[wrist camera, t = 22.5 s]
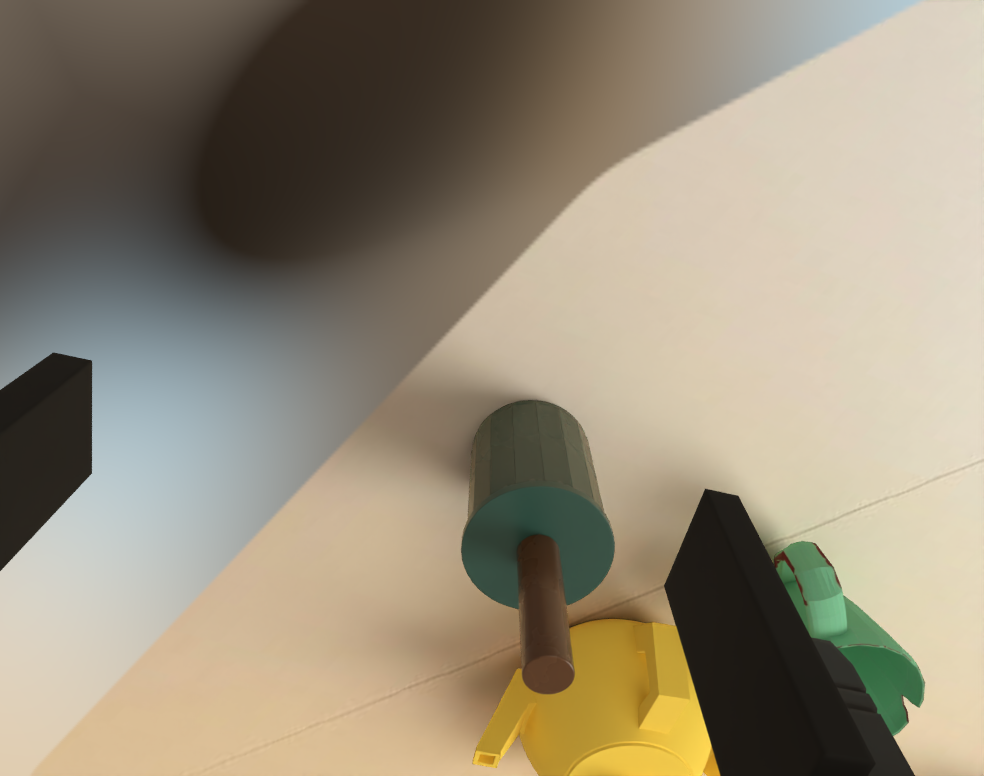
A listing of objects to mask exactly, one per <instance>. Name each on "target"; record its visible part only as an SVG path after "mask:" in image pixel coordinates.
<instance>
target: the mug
mask: <svg viewBox="0 0 984 776" xmlns="http://www.w3.org/2000/svg"><path fill="white" fill-rule="evenodd" d="M774 564H775V568H776V570H777V572H778V574H779V576H780V578H781V580H782V582H783V584H784V586H785V588H786V590H787V592H788V593H789V595H790V597H791V599H792V601H793V603H794V605H795V607H796V609H797V611H798V613H799V615H800V617H801V619H802V621H803V623H804V625H805V627H806V628H807V630H808V632H809V634H810V636H811V637H812V638H817V639H822V640H827V641H831V642H832V643H833V644H834V645H835V646H836V647H837V648H838V650H839V651H840V652H841V653H842V654H843V655H844V656H845V657H846V658H847V659H848V660H849V661H850V662H851V663H852V664H853V666H854V668H855V669H856V671H857V673H858V675H859V676H860V678H861V680H862V682H863V684H864V685H865V687H866V693H868V694H870V696H871V698H872V700H873V702H874V703H875V705H876V707H877V713H878V714H881V716H882V718H883V719H884V721H885V723H886V725H887V727H888V728H889V730H890V732H891V734H892V736H894V735H896V734H898V733H899V732H900V731H901V730H902V729H903V728H904V727H905V726H906V725H907V724H908V723H909V720H908V712H907V709H906V707H905V705H904V701H903V696H904V697H906V698H907V699H908V700H909V701H910V702H911V703H912V704H914V705H916V706H917V707H919V708H920V706H921V704H922V702H923V700H924V688H925V682H924V679H923V677H922V674H921V672H920V669H919V667H918V665H917V664H916V662H915V661H914V660H913V658H912V657H911V656H910V655H909V654H908V653H907V652H906V651H905V650H904V649H903V648H902V647H901V646H900V645H899V644H898V643H897V642H896V641H895V640H894V639H893V638H892V637H891V636H890V635H889V634H888V633H887V632H886V631H884V630H883V629H882V628H881V627H880V626H879V625H878V624H877V623H876V622H874V621H873V620H872V619H871V618H870V617H869V616H868V615H867V614H866V613H865V612H863V611H862V610H861V609H860V608H859V607H858V606H857V605H856V604H854V603H853V602H852V601H850V600H849V599H848V598H846V597H845V596H844V595H843V592H842V588H841V585H840V583H839V580H838V577H837V575H836V572H835V570H834V567H833V566H832V565H831V563H830V562H829V561H828V559H827V558H826V557H825V555H824V554H823V553H822V551H821V550H820V549H819V547H818V546H817V545H816V544H815V543H812V542H804V541H801V542H796V543H793V544H790V545H789V546H788V547H786V548H785V549H783V550H781V551H780V552H778V553H777V554H776V555H775V556H774Z"/></svg>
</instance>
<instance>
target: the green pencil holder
mask: <svg viewBox="0 0 984 776" xmlns="http://www.w3.org/2000/svg"><path fill="white" fill-rule="evenodd" d="M528 481H551V482H557V483H561V484H565V485H568V486H571V487H573V488H575V489H578V490H580V491H581V492H583V493H585V494H586V495H588V496H589V497H590V498H592V499H593V500H594V501H595V502H596V503H597V504H598V505H599V506H600V507H601V508H602V510H603V511H604V509H603V504H602V500H601V496H600V491H599V487H598V483H597V479H596V474H595V470H594V466H593V461H592V457H591V453H590V448H589V444H588V440H587V437H586V436H585V433H584V431H583V429H582V427H581V425H580V424H579V423H578V421H577V420H576V419H575V418H574V417H573V416H572V415H571V414H570V413H568V412H567V411H566V410H564V409H562V408H561V407H559V406H556V405H554V404H551V403H548V402H543V401H535V400H528V401H519V402H514V403H511V404H508V405H506V406H504V407H501V408H500V409H498V410H496V411H495V412H493V413H492V414H491V415H490V416H489V417H488V418H487V419H486V420H485V421H484V422H483V423H482V424H481V426H480V427H479V429H478V431H477V433H476V436H475V438H474V442H473V448H472V451H471V467H470V485H469V503H468V519H469V517H470V515H471V513H472V512H473V511H474V510H475V508H476V507H477V506H478V505H479V504H480V503H481V502H482V501H483V500H484V499H486V498H487V497H489V496H490V495H491V494H493V493H495V492H497V491H498V490H500V489H503V488H505V487H507V486H510V485H514V484H517V483H522V482H528Z"/></svg>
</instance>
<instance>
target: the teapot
mask: <svg viewBox="0 0 984 776" xmlns="http://www.w3.org/2000/svg"><path fill="white" fill-rule="evenodd" d="M569 630H570V638H571V646H572V653H573V661H574V669H575V677H574V680H573V682H572V684H571V685H570V686H569V687H568V688H567V689H565V690H564V691H562V692H559V693H556V694H540V693H536V692H534V691H532V690H530V689H529V688H528V687H527V686H526V685H525V683H524V682H523V679H522V669H517V670H516V672H515V674H514V676H513V678H512V680H511V682H510V684H509V686H508V687H507V689H506V691H505V693H504V695H503V697H502V699H501V701H500V703H499V705H498V707H497V709H496V711H495V713H494V714H493V716H492V718H491V720H490V722H489V724H488V726H487V728H486V730H485V732H484V734H483V736H482V738H481V740H480V741H479V743H478V745H477V747H476V751H475V754H474V758H473V764H476V765H482V766H487V767H493V768H497V765H498V762H499V761H500V759H501V758H502V757H503V755H504V754H505V753H506V751H507V750H508V749H509V747H510V746H511V744H512V743H513V742H514V740H515V739H516V738H517V736H518V735H519V736H520V739H521V742H522V745H523V747H524V750H525V752H526V754H527V756H528V758H529V760H530V762H531V764H532V766H533V768H534V769H535V771H536V772H537V774H538V775H539V776H702V773H703V772H704V773H705V774H706V775H707V776H720V773H719V769H718V766H717V763H716V759H715V756H714V753H713V749H712V746H711V742H710V739H709V736H708V732H707V729H706V725H705V722H704V719H703V715H702V712H701V709H700V705H699V702H698V698H697V695H696V692H695V688H694V685H693V681H692V678H691V675H690V671H689V668H688V665H687V661H686V658H685V654H684V651H683V648H682V644H681V641H680V637H679V634H678V631H677V627H676V626H673V625H667V624H661V623H655V622H650V623H641V622H637V621H631V620H625V619H601V620H594V621H589V622H585V623H582V624H579V625H576V626H573V627H571V628H569Z"/></svg>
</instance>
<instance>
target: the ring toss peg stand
mask: <svg viewBox="0 0 984 776" xmlns="http://www.w3.org/2000/svg"><path fill="white" fill-rule="evenodd" d="M614 551H615V542H614V536H613V532H612V528H611V525H610V522H609V520H608V518H607V516H606V514H605V513H604V511H603V510H602V508H601V507H600V506H599V505H598V504H597V503H596V502H595V501H594V500H593V499H592V498H590V497H589V496H588V495H586V494H585V493H583V492H581V491H580V490H578V489H575V488H573V487H571V486H568V485H565V484H561V483H557V482H551V481H528V482H522V483H517V484H514V485H510V486H507V487H505V488H503V489H500V490H498V491H497V492H495V493H493V494H491V495H490V496H489V497H487V498H486V499H484V500H483V501H482V502H481V503H480V504H479V505H478V506H477V507H476V508H475V510H474V511H473V512H472V513H471V515H470V517H469V519H468V520H467V522H466V525H465V528H464V531H463V535H462V546H461V553H462V561H463V564H464V567H465V570H466V572H467V574H468V576H469V577H470V579H471V581H472V582H473V583H474V584H475V585H476V587H477V588H478V589H479V590H480V591H482V592H483V593H484V594H485V595H487V596H488V597H489V598H491V599H493V600H495V601H496V602H498V603H501V604H503V605H506V606H508V607H512V608H516V609H519V621H520V644H521V668H522V679H523V682H524V683H525V685H526V686H527V687H528V688H529V689H530V690H532V691H534V692H536V693H540V694H556V693H559V692H562V691H564V690H565V689H567V688H568V687H569V686H570V685H571V684H572V682H573V680H574V677H575V669H574V661H573V653H572V646H571V638H570V630H569V622H568V614H567V605H570V604H572V603H574V602H576V601H578V600H580V599H582V598H584V597H585V596H587V595H588V594H590V593H591V592H592V591H593V590H594V589H595V588H596V587H597V586H598V585H599V584H600V583H601V582H602V581H603V579H604V578H605V576H606V575H607V573H608V571H609V569H610V567H611V564H612V561H613V557H614Z"/></svg>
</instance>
